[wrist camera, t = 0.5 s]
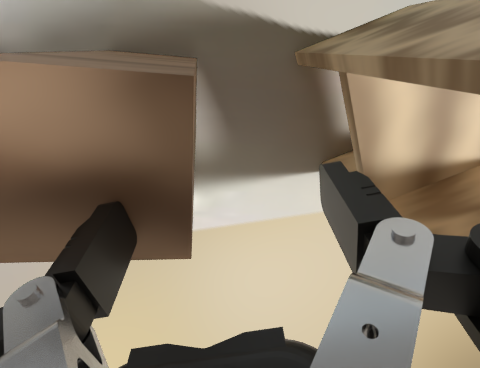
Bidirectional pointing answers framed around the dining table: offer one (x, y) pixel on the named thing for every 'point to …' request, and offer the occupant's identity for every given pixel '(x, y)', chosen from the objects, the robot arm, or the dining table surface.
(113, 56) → the pedestal
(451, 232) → the shelf stand
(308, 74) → the dining table surface
